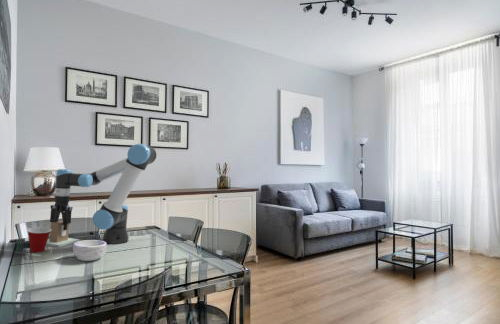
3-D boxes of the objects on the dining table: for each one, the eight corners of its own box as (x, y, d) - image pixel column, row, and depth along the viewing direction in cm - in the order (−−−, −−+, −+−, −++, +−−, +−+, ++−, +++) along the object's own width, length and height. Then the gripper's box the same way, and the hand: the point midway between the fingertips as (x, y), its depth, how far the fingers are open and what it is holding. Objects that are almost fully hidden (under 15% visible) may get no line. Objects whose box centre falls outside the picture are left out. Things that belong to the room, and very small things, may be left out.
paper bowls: (112, 257, 161) (113, 241, 162) (88, 265, 147) (89, 248, 147) (89, 252, 166) (90, 237, 167) (64, 259, 152) (65, 243, 152)
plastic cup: (37, 255, 155) (39, 232, 156) (19, 253, 158) (21, 229, 158) (55, 250, 166) (56, 228, 166) (38, 248, 168) (40, 226, 168)
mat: (85, 241, 188) (85, 240, 188) (58, 249, 168) (58, 248, 168) (58, 237, 192) (58, 236, 193) (29, 244, 173) (29, 244, 173)
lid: (79, 241, 186) (80, 221, 186) (58, 246, 171) (60, 225, 172) (58, 238, 190) (60, 218, 190) (36, 243, 175) (38, 222, 175)
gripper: (44, 194, 180) (41, 234, 179) (70, 197, 175) (66, 238, 175) (55, 193, 187) (52, 232, 186) (80, 196, 183) (77, 235, 182)
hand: (59, 235), depth 181 cm, fingers closed on lid, 5 cm apart
